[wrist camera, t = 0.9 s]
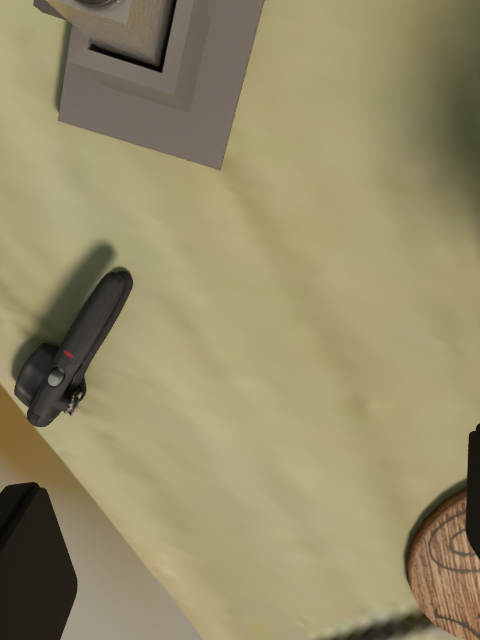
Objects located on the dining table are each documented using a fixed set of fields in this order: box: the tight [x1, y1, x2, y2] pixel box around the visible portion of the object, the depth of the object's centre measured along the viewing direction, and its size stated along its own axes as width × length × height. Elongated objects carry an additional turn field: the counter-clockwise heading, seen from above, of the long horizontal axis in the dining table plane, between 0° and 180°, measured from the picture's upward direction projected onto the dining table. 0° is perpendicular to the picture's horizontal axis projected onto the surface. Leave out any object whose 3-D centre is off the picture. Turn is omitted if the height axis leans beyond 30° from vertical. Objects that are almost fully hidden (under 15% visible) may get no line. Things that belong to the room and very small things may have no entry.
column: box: [46, 0, 176, 73], centre depth 27 cm, size 4×4×17 cm
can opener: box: [14, 272, 133, 427], centre depth 42 cm, size 18×7×6 cm, turn 144°
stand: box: [33, 0, 264, 170], centre depth 31 cm, size 14×14×11 cm
